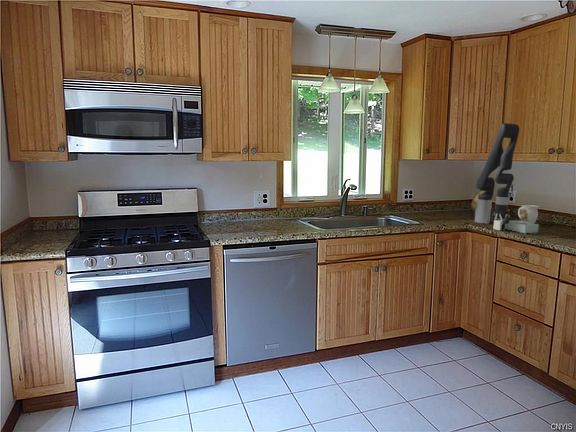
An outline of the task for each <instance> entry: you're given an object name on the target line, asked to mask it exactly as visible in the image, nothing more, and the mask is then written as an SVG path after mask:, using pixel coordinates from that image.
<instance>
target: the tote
mask: <svg viewBox="0 0 576 432" xmlns="http://www.w3.org/2000/svg"><path fill="white" fill-rule="evenodd" d="M515 222H523V221H521V220H509V223H508V224H506V227H505V229H507V230H506V231H510V230H512V231H511V232H514V231H516V232H515V233H519V232H520V234H523V233H524V235H526V233H530V234H538V233H539V226H540V224H539V223H534V224H533V223H528V222H526V223H528V224H527V225H523V224H518V223H515Z"/></svg>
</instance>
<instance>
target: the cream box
mask: <svg viewBox="0 0 576 432" xmlns="http://www.w3.org/2000/svg"><path fill="white" fill-rule="evenodd" d="M503 222H504V221H503ZM501 226H502V221H501V220H500V219H499V220H494V222H493V227H492V228H493V230H496V231H502V230H501ZM505 227H506V224H505ZM503 231H506V230H505V229H504V230H503Z"/></svg>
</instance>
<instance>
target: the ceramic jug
mask: <svg viewBox="0 0 576 432" xmlns="http://www.w3.org/2000/svg"><path fill="white" fill-rule="evenodd" d="M484 192H485V190H479V191H478V193H476V195H475V196H474V197H473V199H472V201H471V204H470V209H471V211H472V213H473V216H475V212H476V209H477V202H478V195H480V194H483V193H484ZM492 207H493V204H492V203H491V209H492Z"/></svg>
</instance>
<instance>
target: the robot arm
mask: <svg viewBox="0 0 576 432" xmlns="http://www.w3.org/2000/svg"><path fill="white" fill-rule="evenodd" d="M519 134H520V126H519V125H518V124H516V123H506V122H504V123H501V125H500V126H499V129H498V131H497V135H496V137H495V141H494V143H493V146H492V148H491V150H490V153H489V155H488V157H487V159H486V162H485V165H484V167H483V168H482V171H481V173H480V175H479V177H478V178H477V181H476V185H475V186H476V188H477V190H479V191H480V190H485V192H484V193H483V194H480V195H478V202H477V209H476V212H475V215H474V222H475V223H478V224H483V223H484V225H485V224H487V225H488V224H490V220H491V221H492V222H493V223H494V220H501V221H502V226H501V230H500V231H505V230H504V229H505V224H508V223H509V221H511V220H510V219H511V215H510V214H508V209H509V202H510V201H509V196H510V191H511V187H512V184H513V182H514V180H515V177H514V175H513V173H504V171H510V170H512V168H513V158H514V153H515V149H516V147H517V146H516V145H517V141H518V138H519ZM505 138H506V139H509V140H510V141H509V144H508V146H507V147H506V148H505V150H504V147H503V141H504V139H505ZM497 169H498V171H497V173H496V176H495V178H494V177H490V175H491V174H492V173H493V172H495V171H496V170H497ZM495 183H496V184H498V185H505V186H503V187H502V186H501V187H498V188H497V190H496V197H495V204H494V206H495V207H494V212H491V211H492V208H491V203H492V202H493V196H494V191H495V186H496V184H495ZM503 221H504V222H503Z"/></svg>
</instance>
